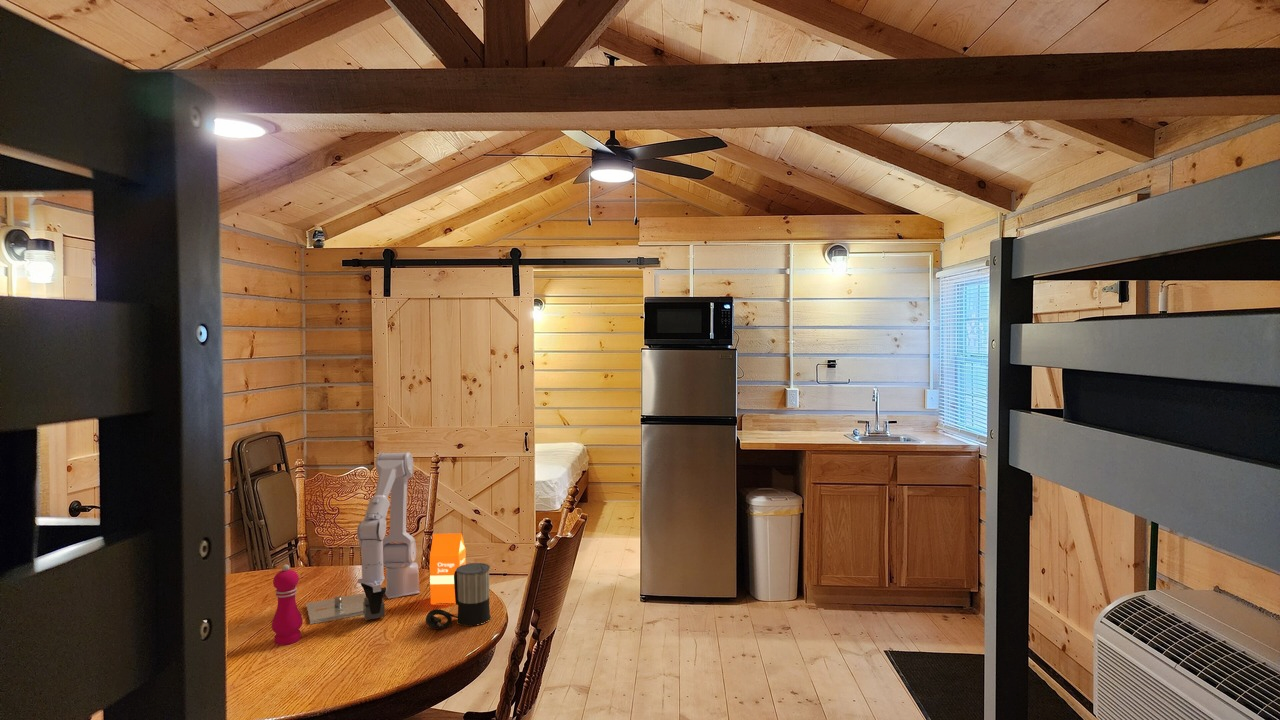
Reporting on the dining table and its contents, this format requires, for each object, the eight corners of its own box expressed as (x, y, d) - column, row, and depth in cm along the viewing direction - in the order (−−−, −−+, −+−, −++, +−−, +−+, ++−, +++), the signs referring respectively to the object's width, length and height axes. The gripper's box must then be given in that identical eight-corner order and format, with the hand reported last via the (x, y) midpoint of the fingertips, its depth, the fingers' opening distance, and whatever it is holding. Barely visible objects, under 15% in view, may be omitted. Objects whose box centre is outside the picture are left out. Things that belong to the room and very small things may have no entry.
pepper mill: (290, 647, 181) (288, 569, 180) (265, 645, 182) (263, 568, 182) (309, 635, 188) (306, 560, 188) (285, 634, 189) (283, 559, 189)
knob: (363, 614, 200) (362, 596, 200) (382, 610, 203) (381, 592, 203) (365, 620, 196) (365, 601, 196) (384, 616, 198) (384, 598, 198)
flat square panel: (363, 596, 218) (363, 585, 217) (371, 612, 204) (371, 600, 203) (306, 606, 210) (306, 594, 210) (310, 624, 196) (310, 611, 196)
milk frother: (498, 618, 198) (497, 565, 198) (456, 638, 184) (455, 581, 184) (461, 609, 205) (460, 558, 205) (418, 628, 192) (417, 573, 191)
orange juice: (459, 604, 209) (458, 536, 209) (430, 604, 209) (428, 537, 209) (466, 594, 217) (465, 530, 217) (438, 595, 217) (436, 530, 217)
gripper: (354, 558, 203) (355, 604, 204) (361, 571, 191) (362, 621, 191) (379, 554, 207) (381, 600, 207) (388, 567, 194) (389, 616, 194)
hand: (374, 610), depth 199 cm, fingers closed on knob, 5 cm apart
